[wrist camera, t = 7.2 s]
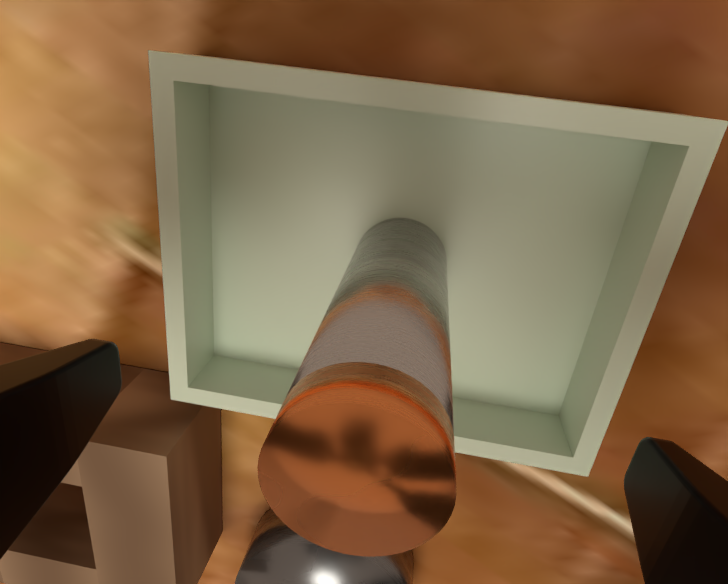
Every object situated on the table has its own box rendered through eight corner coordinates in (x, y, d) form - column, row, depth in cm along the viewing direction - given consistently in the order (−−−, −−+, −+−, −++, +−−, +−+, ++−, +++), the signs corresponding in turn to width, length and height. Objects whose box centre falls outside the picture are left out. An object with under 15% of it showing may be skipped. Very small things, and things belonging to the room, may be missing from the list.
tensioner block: (220, 382, 18) (166, 456, 15) (222, 531, 22) (178, 622, 18) (-24, 338, 19) (-131, 398, 16) (14, 488, 23) (-68, 567, 19)
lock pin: (454, 225, 14) (475, 424, 6) (437, 310, 15) (436, 572, 7) (360, 211, 15) (260, 385, 6) (350, 296, 16) (255, 535, 8)
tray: (678, 113, 13) (729, 121, 11) (568, 423, 17) (587, 476, 15) (195, 54, 14) (148, 50, 12) (204, 359, 18) (170, 399, 16)
